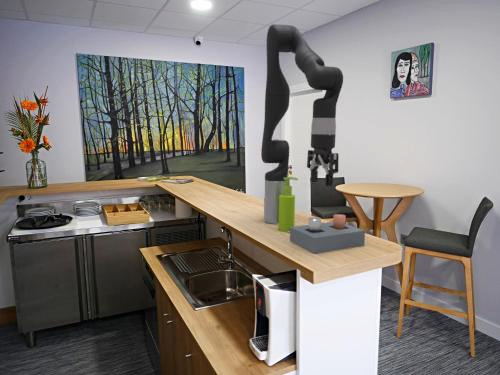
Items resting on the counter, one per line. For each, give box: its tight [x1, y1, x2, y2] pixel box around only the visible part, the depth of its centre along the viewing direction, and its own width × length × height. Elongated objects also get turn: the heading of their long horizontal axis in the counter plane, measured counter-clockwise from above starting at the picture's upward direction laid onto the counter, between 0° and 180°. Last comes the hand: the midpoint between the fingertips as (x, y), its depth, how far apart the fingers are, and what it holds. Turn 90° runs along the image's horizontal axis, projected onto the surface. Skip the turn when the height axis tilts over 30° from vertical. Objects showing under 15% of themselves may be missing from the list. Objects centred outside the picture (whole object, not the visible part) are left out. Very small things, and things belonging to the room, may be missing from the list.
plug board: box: [289, 221, 366, 255], centre depth 124 cm, size 14×20×5 cm
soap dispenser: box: [278, 176, 299, 233], centre depth 139 cm, size 6×7×20 cm
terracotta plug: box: [332, 213, 347, 230], centre depth 126 cm, size 4×4×5 cm
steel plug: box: [308, 216, 322, 233], centre depth 121 cm, size 4×4×5 cm
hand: (321, 184), depth 119 cm, fingers open, 8 cm apart
